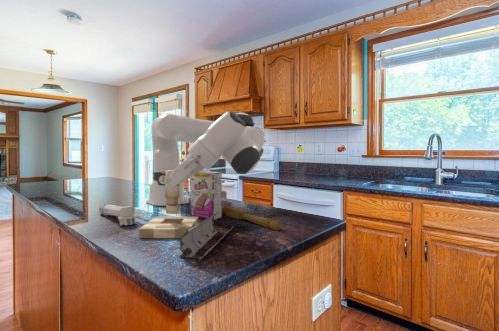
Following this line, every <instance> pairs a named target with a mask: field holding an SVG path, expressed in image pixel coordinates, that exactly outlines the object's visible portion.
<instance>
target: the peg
mask: <svg viewBox="0 0 499 331" xmlns="http://www.w3.org/2000/svg"><path fill="white" fill-rule="evenodd" d="M173 171H174V170H166V173H165V197H166V206H165V207H166V208H165V212H166V214H167V215H175V214H178V212H179V211H178V209H179V208H178V206H179V204H178V197H179V184H177V185H176V186H175V187H174V188H173V189H172V190H171V191H169V190H167V189H166V186H167V185H168V184H169V183H170V181H171V180H172V179H171V178H170V174H171V173H172V172H173Z"/></svg>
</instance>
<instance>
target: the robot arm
mask: <svg viewBox="0 0 499 331" xmlns="http://www.w3.org/2000/svg"><path fill="white" fill-rule="evenodd" d="M255 125H256V123H255V122H254V119H253V117H252V116H251V115H249V114H248V113H246V112H236V113H235V112H234V111H229V110H228V111H226V112H225V113H223V114H222V115H221V116H219V117H218V118H217V119H216V120H215V121H214V120H207V119H199V118H193V117H188V116H184V115H179V114H172V113H164V114H162V115H160V116H157V117H155V119H154V120H153V121H152V123H151V126H150V129H151V141H152V142H151V143H152V150H153V151H152V153H153V172H152V180H153V181H152V182H151V183H150V184H149V197H148V200H146V201H145V202H146V204H150V205H153V206H158V207H159V206H162V207H163V206H164V207H166V197H165V173H166V170H174V171H173V172H172V173H171V174H170V178H171V179H172V180H171V181H170V183H169V184H168V185H167V186H166V189H167V190H169V191H171V190H172V189H173V188H174V187H175V186H176V185H177V184H179V197H178V205H184V204H189V202H190V197H189V195H186V194H187V193H186V192H185V186H184V183H183V182H185V181H187V180H190V178H191V177H192V176H194V175H195V174H197V173H198V172H199V171H204V169H206V170H210V169H211V168H212V167H213V166H214V165H215V164H216V163H217V162H218V160H220V159H221V157H222V158H223V159H224V161H225V162H227V164H228V165H229V166H230V167H231V168H232V169H233V171H234V172H235V173H236V174H239V175H246V174H249V173H251V172H252V171H253V170H254V169H255V168H256V167H257V165H258V164H259V162H260V160H261V158H262V156H263V154H264V147H263V146H264V144H265V142H266V141H265V135H264V133H263V132H262V131H261V130H260V129H258V128H257V127H254V126H255ZM178 142H184V143H192V144H191V145H190V146H189V147H188V148H187V152H188V154H187V155H186V159H184V160H183V161H182V162H181V163H180V151H179V145H178Z"/></svg>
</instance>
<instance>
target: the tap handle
mask: <svg viewBox="0 0 499 331" xmlns="http://www.w3.org/2000/svg"><path fill="white" fill-rule="evenodd" d="M222 214H224V215H225V216H227V217H230V218H233V219H236V220H243V221H248V222H250V223H253V224H256V225H259V226H261V227H264V228H267V229H271V230H273V231H280V229H281V228H282V224H281V222H280V221H277V220H273V219H270V218H267V217H262V216H259V215H254V214H249V213H248V212H247V211H246V210H245V209H242V208H237V207H234V206H229V207H228V206H222Z"/></svg>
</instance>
